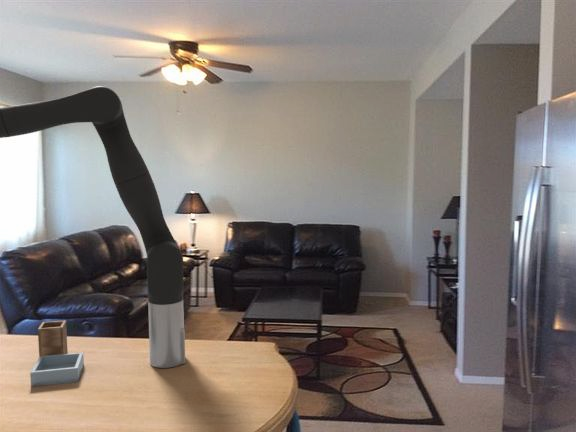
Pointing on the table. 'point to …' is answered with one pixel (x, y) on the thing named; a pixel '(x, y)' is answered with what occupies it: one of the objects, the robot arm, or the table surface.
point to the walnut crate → (52, 338)
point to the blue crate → (57, 369)
